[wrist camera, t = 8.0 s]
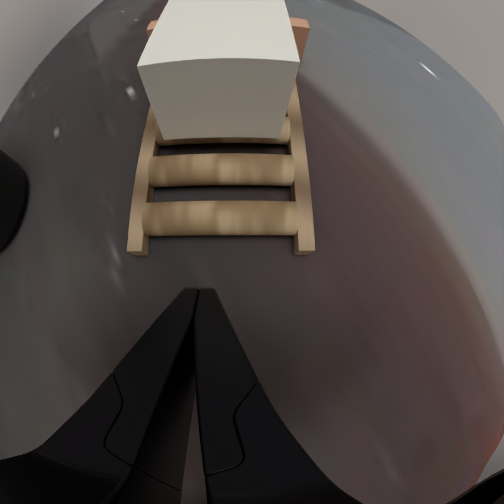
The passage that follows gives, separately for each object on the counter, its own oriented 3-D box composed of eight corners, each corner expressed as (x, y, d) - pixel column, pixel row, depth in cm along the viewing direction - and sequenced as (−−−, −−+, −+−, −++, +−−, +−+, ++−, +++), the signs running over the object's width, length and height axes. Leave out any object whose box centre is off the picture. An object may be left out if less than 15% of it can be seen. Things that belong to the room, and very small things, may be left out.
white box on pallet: (279, 138, 20) (300, 61, 12) (164, 139, 19) (137, 66, 11) (270, 50, 22) (280, -11, 14) (183, 52, 21) (174, -9, 14)
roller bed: (309, 254, 21) (318, 248, 18) (134, 255, 20) (122, 248, 17) (288, 67, 25) (292, 51, 22) (166, 68, 24) (162, 53, 22)
